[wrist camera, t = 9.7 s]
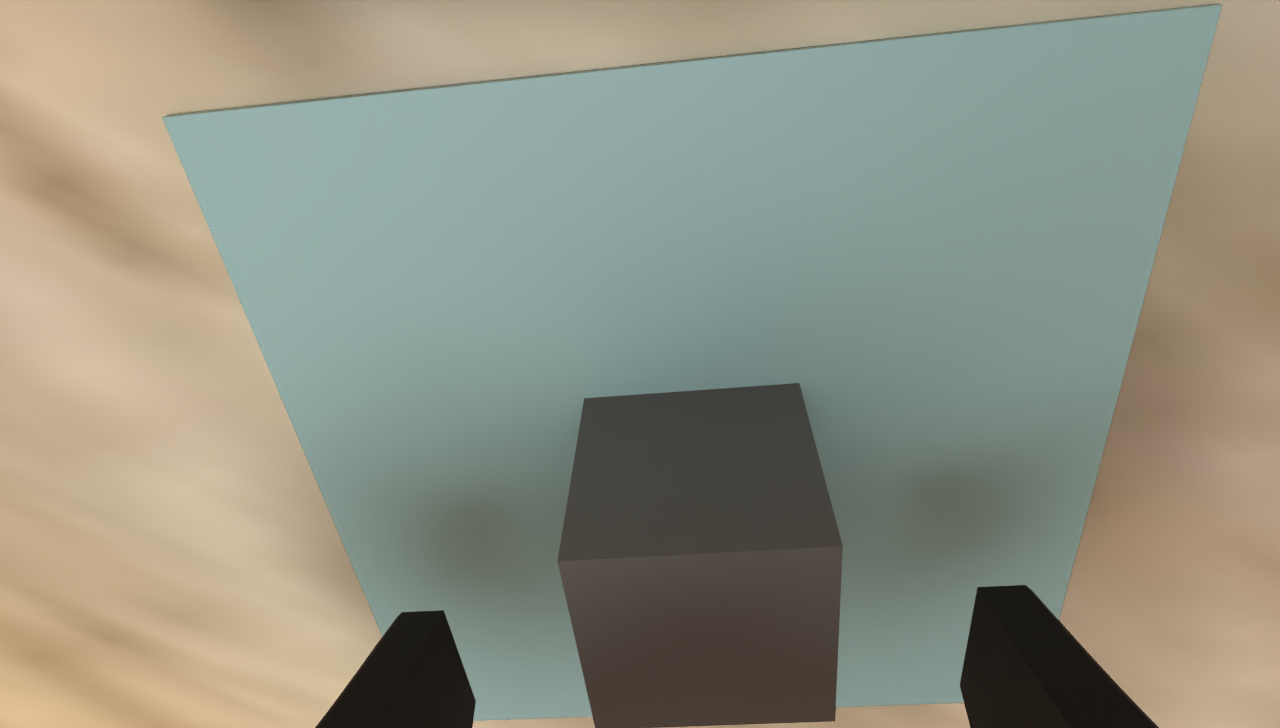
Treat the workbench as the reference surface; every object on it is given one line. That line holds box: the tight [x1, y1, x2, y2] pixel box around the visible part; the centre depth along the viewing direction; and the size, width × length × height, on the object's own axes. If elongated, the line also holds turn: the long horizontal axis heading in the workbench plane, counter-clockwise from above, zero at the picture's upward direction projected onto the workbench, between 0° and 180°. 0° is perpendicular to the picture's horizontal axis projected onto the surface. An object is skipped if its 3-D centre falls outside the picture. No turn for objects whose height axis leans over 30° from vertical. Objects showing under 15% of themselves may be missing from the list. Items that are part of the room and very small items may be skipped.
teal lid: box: [162, 4, 1222, 728], centre depth 12 cm, size 14×14×4 cm
